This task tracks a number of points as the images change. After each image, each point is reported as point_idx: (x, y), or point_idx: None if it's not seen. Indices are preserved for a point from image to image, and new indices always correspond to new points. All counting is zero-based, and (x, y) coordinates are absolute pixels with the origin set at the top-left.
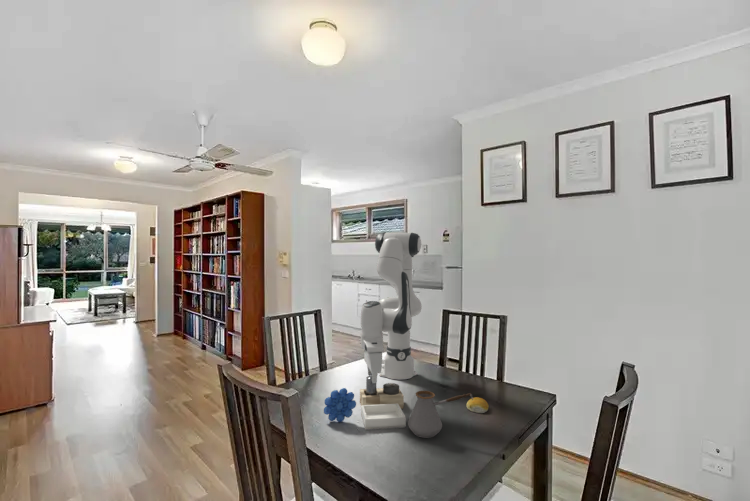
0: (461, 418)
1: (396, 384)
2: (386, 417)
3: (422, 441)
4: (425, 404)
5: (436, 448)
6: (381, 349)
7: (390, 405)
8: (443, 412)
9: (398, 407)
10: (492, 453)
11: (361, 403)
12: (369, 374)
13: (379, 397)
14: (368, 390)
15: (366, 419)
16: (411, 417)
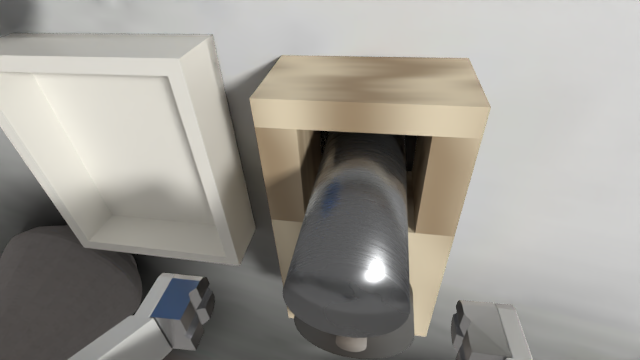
0: (223, 353)
1: (373, 354)
2: (42, 176)
3: (29, 228)
4: None
5: (5, 245)
6: None
7: (219, 230)
8: (265, 340)
9: (186, 254)
10: None
11: (339, 67)
12: (460, 317)
13: (273, 213)
14: (322, 179)
15: None
16: (16, 267)
